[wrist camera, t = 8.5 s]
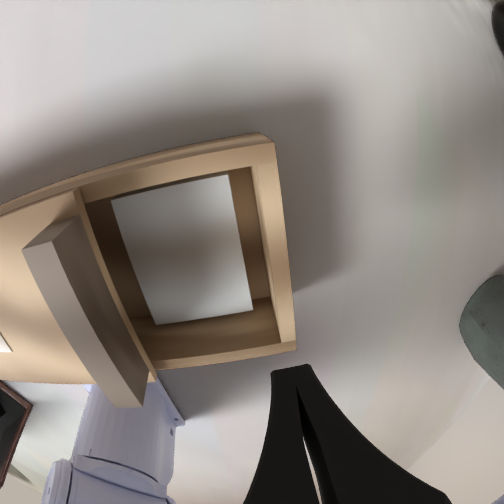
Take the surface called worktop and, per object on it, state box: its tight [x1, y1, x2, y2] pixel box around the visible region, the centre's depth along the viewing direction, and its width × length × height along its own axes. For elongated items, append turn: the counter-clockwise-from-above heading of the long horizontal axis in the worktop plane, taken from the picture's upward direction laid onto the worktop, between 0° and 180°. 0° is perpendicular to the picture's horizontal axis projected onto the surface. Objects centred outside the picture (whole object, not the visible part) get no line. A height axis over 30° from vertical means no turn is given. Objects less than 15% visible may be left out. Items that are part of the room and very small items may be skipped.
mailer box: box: [0, 132, 297, 370], centre depth 16 cm, size 11×18×5 cm, turn 99°
